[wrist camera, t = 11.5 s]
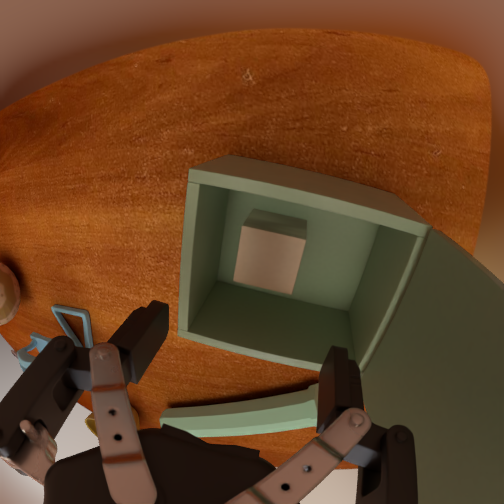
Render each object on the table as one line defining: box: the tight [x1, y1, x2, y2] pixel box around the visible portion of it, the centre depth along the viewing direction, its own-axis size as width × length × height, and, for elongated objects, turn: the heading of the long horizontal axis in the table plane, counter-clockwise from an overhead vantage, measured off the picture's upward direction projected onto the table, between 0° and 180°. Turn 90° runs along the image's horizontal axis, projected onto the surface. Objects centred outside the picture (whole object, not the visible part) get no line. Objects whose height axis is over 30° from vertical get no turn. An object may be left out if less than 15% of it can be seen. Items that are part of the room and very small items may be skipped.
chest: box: [178, 155, 433, 377], centre depth 22 cm, size 15×13×9 cm
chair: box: [17, 304, 93, 372], centre depth 32 cm, size 8×8×12 cm
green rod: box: [160, 383, 319, 437], centre depth 35 cm, size 6×6×25 cm
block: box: [233, 209, 307, 295], centre depth 23 cm, size 5×5×5 cm
